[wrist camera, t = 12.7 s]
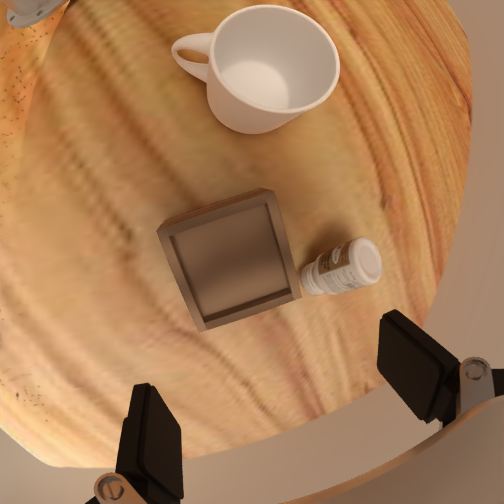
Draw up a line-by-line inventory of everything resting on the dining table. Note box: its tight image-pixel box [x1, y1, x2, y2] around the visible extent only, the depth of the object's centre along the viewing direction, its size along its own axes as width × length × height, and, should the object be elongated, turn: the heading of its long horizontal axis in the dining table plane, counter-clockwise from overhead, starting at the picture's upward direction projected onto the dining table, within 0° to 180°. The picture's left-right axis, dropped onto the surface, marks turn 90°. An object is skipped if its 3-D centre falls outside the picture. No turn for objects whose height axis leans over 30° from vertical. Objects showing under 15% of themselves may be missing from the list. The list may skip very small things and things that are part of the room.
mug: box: [171, 5, 340, 134], centre depth 19 cm, size 9×12×11 cm
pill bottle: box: [301, 237, 382, 295], centre depth 26 cm, size 4×4×8 cm
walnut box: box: [156, 188, 302, 332], centre depth 26 cm, size 10×10×5 cm
